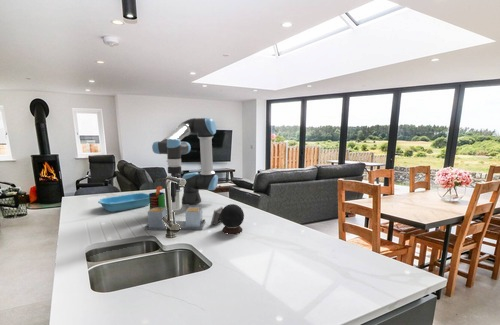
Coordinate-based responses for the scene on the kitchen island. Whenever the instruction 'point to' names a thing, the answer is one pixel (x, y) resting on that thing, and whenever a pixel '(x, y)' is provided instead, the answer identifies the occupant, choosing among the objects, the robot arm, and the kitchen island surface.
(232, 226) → the black ball on stand
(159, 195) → the motor
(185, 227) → the rail
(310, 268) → the kitchen island surface
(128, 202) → the casserole dish
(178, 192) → the block
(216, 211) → the electrical switch
